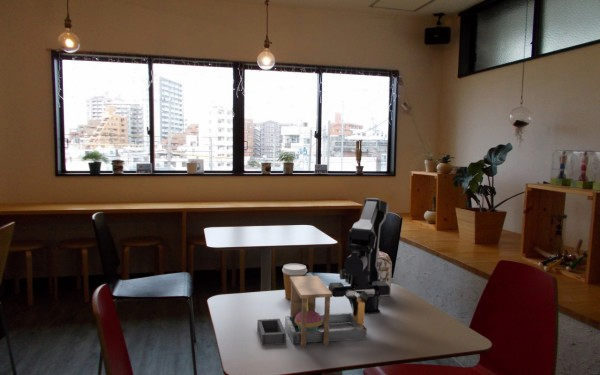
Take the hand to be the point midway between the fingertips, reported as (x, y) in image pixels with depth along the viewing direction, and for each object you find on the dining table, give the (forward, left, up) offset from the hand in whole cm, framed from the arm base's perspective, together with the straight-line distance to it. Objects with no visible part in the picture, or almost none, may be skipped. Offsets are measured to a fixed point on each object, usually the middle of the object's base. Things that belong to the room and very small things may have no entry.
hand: (358, 315), depth 136 cm
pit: (+28, 0, -5) cm, 28 cm away
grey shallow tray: (+10, 0, -5) cm, 12 cm away
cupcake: (+16, 0, -5) cm, 17 cm away
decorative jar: (-18, -34, -5) cm, 39 cm away
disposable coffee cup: (+14, -32, -5) cm, 35 cm away
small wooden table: (+16, 0, -5) cm, 17 cm away
